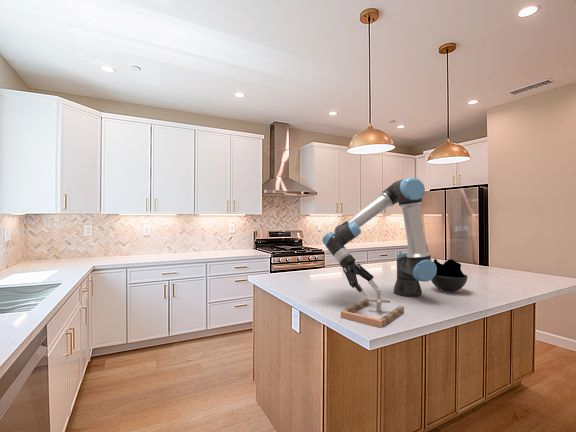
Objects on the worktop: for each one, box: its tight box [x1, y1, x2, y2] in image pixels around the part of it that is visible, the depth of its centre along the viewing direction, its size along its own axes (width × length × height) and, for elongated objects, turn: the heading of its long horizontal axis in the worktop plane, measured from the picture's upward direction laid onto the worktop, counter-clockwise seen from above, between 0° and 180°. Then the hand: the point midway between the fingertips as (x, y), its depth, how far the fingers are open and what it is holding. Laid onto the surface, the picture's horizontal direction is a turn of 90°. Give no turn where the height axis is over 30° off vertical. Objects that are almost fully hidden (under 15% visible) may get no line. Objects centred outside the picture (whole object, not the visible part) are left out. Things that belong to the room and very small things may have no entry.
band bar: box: [340, 310, 384, 328], centre depth 123 cm, size 2×18×2 cm, turn 49°
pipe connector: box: [366, 288, 391, 313], centre depth 136 cm, size 10×10×10 cm
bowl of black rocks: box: [430, 258, 468, 293], centre depth 174 cm, size 20×20×19 cm
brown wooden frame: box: [341, 298, 405, 327], centre depth 132 cm, size 23×19×2 cm
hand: (373, 294), depth 137 cm, fingers open, 13 cm apart
